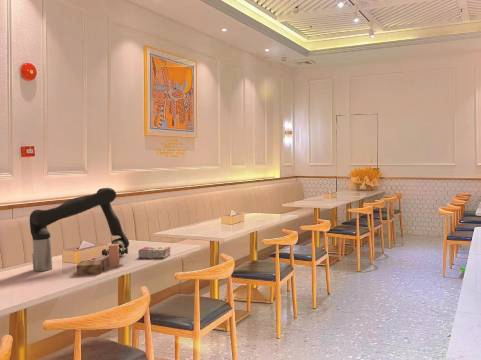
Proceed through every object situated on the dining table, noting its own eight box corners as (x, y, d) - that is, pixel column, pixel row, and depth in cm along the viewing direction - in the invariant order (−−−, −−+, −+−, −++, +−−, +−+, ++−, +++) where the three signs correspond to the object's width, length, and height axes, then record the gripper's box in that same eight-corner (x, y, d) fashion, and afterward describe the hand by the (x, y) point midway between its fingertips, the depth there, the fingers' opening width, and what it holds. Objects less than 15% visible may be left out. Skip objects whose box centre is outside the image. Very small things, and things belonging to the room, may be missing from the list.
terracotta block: (109, 267, 277) (108, 245, 276) (110, 265, 282) (109, 244, 281) (118, 266, 277) (117, 245, 277) (119, 264, 282) (118, 243, 281)
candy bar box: (145, 246, 308) (170, 246, 305) (145, 254, 309) (170, 254, 306) (138, 249, 297) (164, 250, 294) (138, 258, 298) (164, 258, 295)
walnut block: (77, 275, 260) (76, 265, 260) (81, 270, 272) (81, 261, 272) (100, 273, 262) (100, 264, 262) (104, 268, 274) (103, 259, 274)
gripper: (104, 243, 293) (100, 248, 277) (129, 241, 295) (126, 246, 279) (105, 255, 293) (100, 261, 277) (129, 254, 295) (127, 259, 279)
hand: (113, 253), depth 278 cm, fingers open, 8 cm apart
